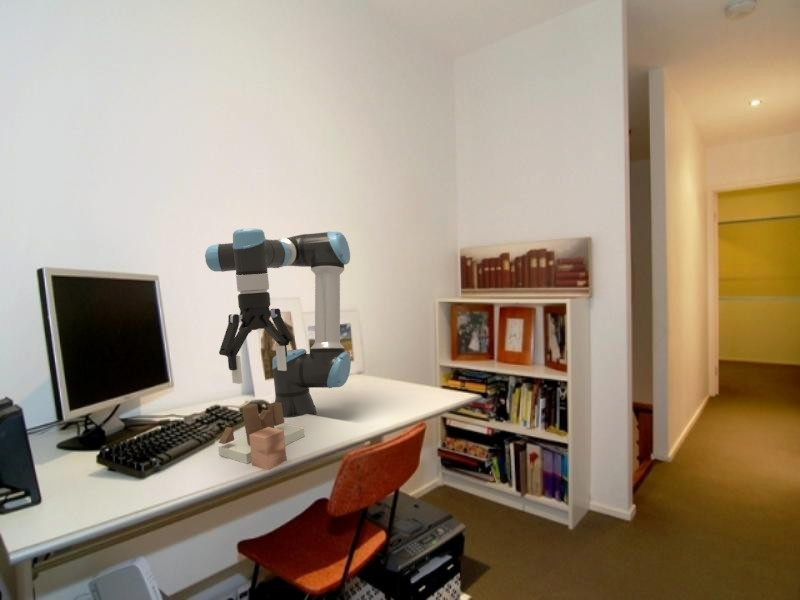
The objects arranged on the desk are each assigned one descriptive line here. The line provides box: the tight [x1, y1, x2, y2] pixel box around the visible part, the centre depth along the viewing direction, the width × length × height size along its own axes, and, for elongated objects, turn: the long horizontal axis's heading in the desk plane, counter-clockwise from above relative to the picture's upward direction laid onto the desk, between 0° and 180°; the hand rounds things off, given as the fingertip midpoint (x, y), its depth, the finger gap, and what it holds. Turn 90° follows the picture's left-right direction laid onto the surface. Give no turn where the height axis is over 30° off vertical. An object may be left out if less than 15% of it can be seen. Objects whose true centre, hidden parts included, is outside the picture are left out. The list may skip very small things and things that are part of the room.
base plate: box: [217, 423, 306, 464], centre depth 124 cm, size 20×12×2 cm, turn 146°
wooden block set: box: [218, 401, 285, 445], centre depth 122 cm, size 18×9×10 cm, turn 141°
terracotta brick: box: [249, 427, 287, 471], centre depth 112 cm, size 6×6×8 cm
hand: (261, 376), depth 110 cm, fingers open, 13 cm apart
